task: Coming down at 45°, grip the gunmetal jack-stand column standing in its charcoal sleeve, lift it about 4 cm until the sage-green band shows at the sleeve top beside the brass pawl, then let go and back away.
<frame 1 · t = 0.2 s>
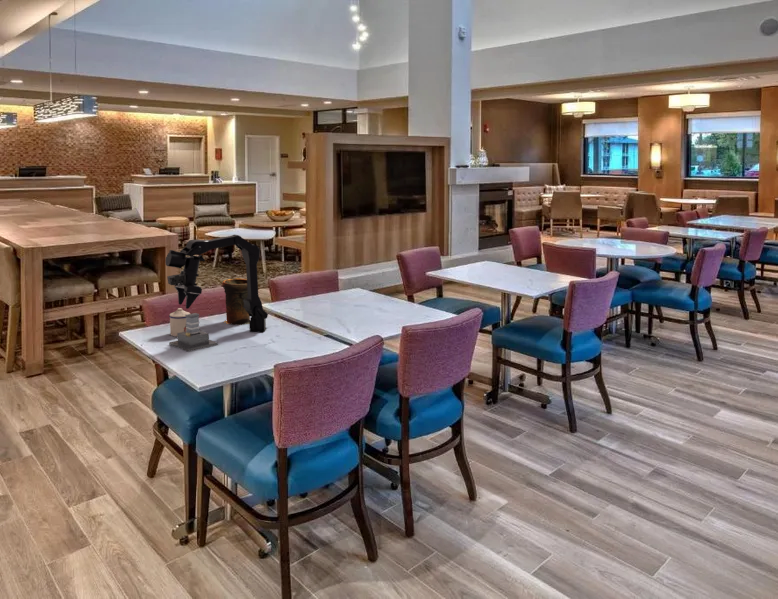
hand: (183, 306, 262), 15 cm above the table, tool pointing down, fingers open, 9 cm apart
vessel: (238, 322, 301), on the table
stand base: (193, 344, 261), on the table
column: (192, 328, 260), point 7 cm above the table, slide at 0.0 cm
teacup with lid: (181, 333, 278), on the table
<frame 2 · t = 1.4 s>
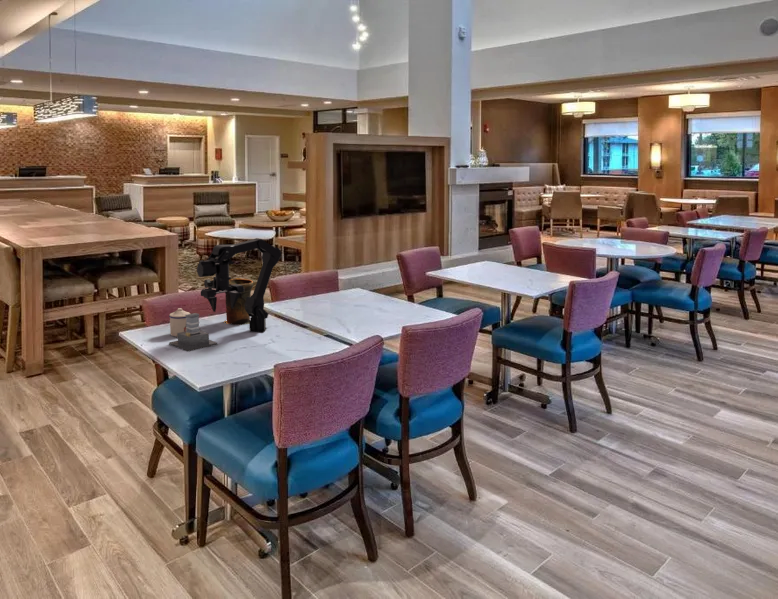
hand: (223, 310, 272), 12 cm above the table, tool pointing down, fingers open, 9 cm apart
nothing on the table moved.
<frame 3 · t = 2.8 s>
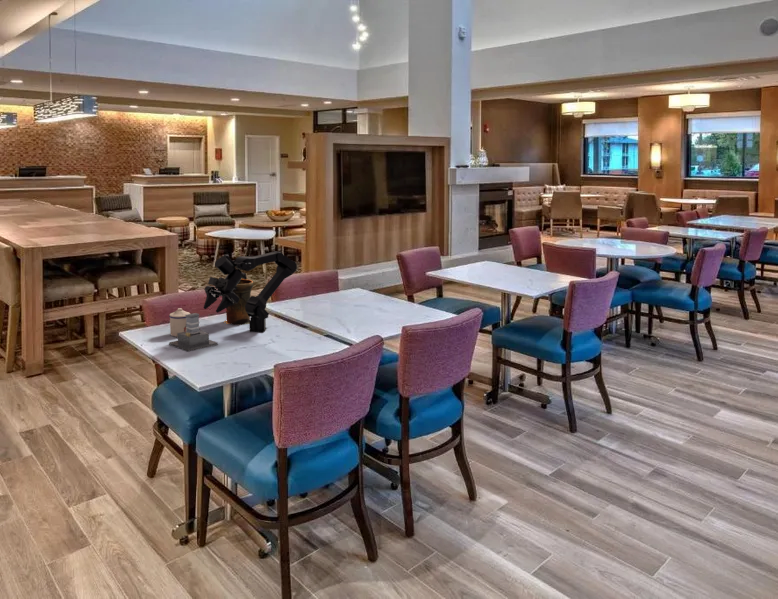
hand: (210, 310, 265), 13 cm above the table, tool tilted 45°, fingers open, 9 cm apart
nothing on the table moved.
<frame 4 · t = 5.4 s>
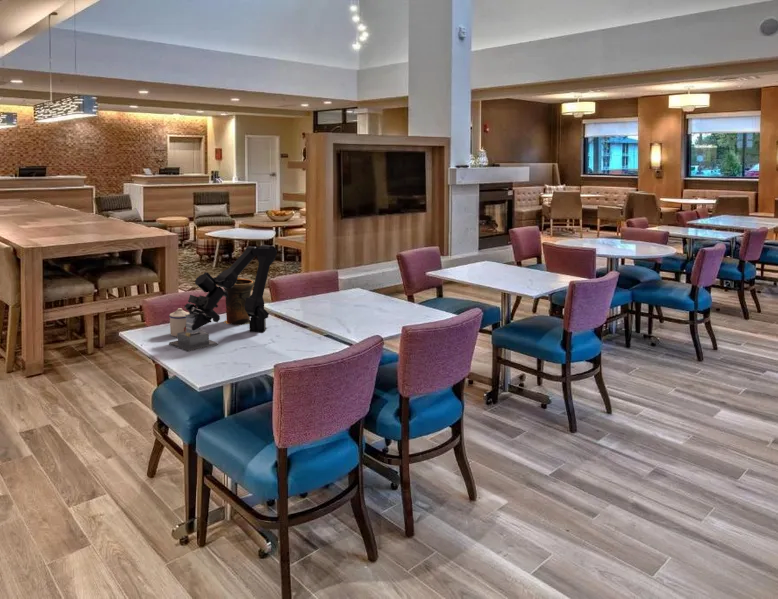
hand: (189, 328, 259), 7 cm above the table, tool tilted 45°, fingers closed on column, 4 cm apart
column: (192, 328, 260), point 7 cm above the table, slide at 0.0 cm, touching gripper
everything else where it was.
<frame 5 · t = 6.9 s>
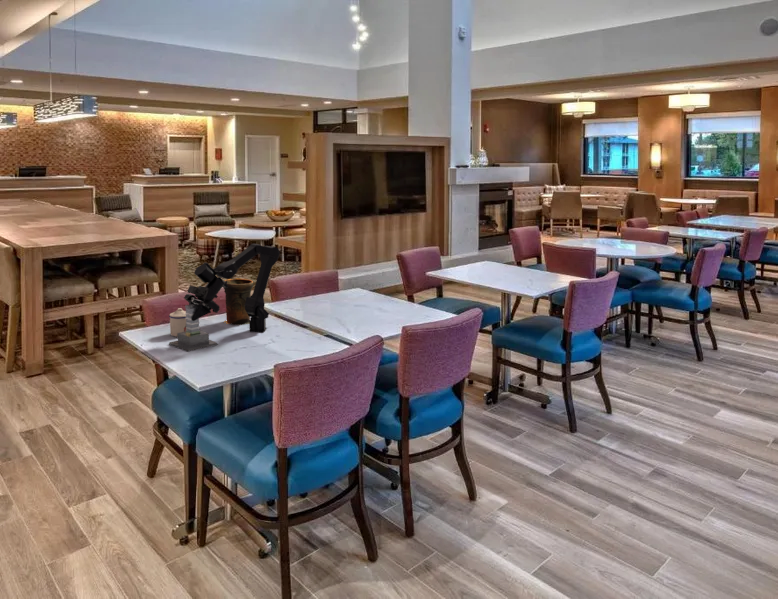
hand: (189, 319, 258), 11 cm above the table, tool tilted 45°, fingers closed on column, 4 cm apart
column: (192, 319, 259), point 11 cm above the table, slide at 4.0 cm, touching gripper
everything else where it was.
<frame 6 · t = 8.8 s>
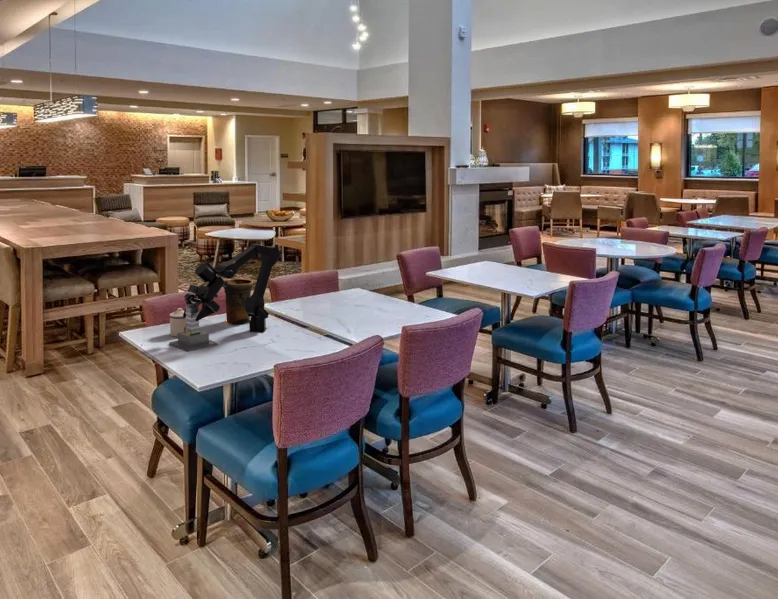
hand: (189, 318, 258), 11 cm above the table, tool tilted 45°, fingers open, 9 cm apart
column: (192, 318, 259), point 11 cm above the table, slide at 4.2 cm
everything else where it was.
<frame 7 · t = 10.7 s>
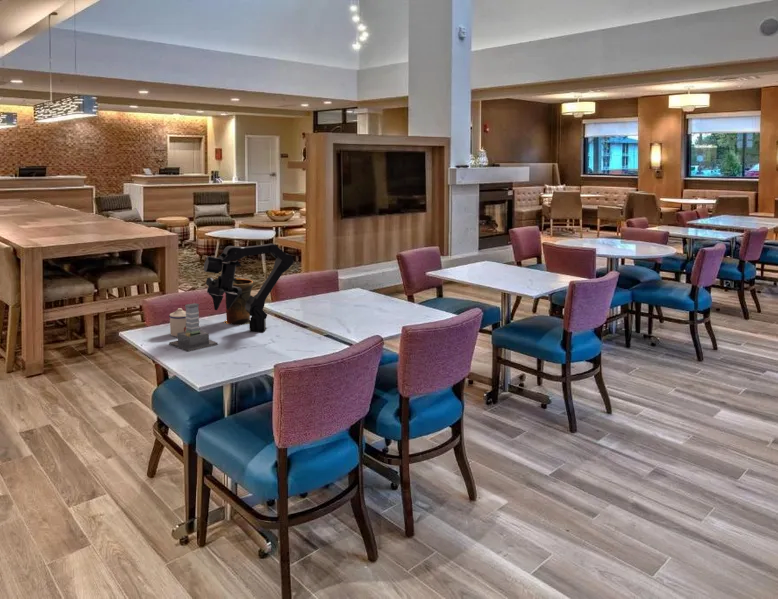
hand: (221, 309, 276), 11 cm above the table, tool pointing down, fingers open, 9 cm apart
nothing on the table moved.
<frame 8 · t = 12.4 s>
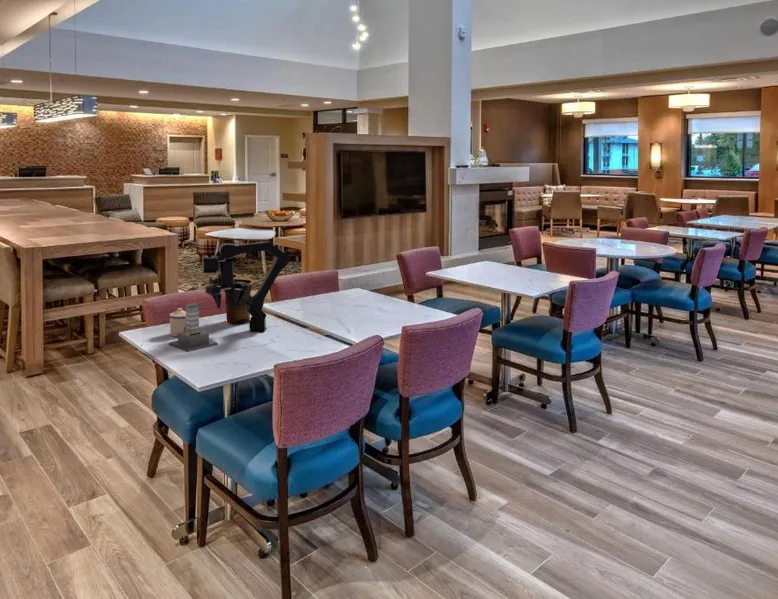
hand: (227, 306, 278), 12 cm above the table, tool pointing down, fingers open, 9 cm apart
nothing on the table moved.
at the end: column slide at 4.2 cm; the gripper is holding nothing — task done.
